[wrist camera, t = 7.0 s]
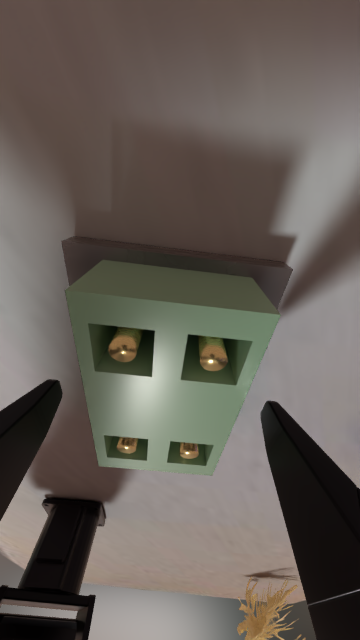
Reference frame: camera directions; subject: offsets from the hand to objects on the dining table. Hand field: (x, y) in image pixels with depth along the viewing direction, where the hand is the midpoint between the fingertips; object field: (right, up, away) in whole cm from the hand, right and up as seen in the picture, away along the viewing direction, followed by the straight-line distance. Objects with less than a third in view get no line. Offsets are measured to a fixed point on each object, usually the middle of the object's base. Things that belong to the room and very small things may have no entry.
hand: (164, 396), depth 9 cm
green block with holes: (0, +1, +2) cm, 2 cm away
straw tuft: (+18, -51, +35) cm, 64 cm away
